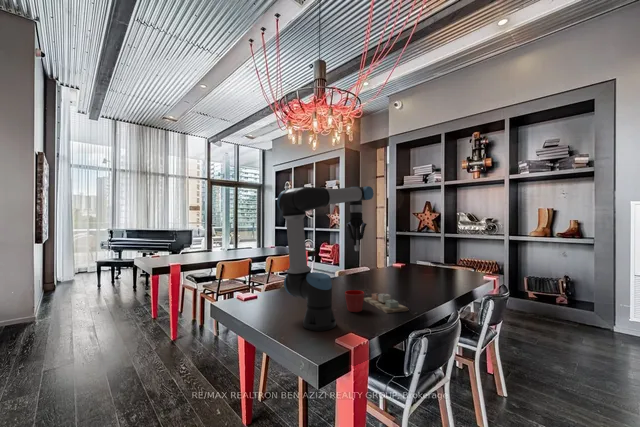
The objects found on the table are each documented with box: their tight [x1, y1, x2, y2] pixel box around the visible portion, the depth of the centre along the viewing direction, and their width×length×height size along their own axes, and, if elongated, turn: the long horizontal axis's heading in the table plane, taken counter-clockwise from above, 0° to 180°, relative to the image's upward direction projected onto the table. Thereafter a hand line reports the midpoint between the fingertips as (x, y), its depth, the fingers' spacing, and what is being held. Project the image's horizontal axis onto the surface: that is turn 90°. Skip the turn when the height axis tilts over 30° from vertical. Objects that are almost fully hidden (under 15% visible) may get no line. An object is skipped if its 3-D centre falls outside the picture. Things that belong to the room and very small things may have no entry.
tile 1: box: [378, 293, 392, 303], centre depth 164 cm, size 5×5×4 cm
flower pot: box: [344, 289, 365, 313], centre depth 155 cm, size 11×11×10 cm
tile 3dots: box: [371, 292, 381, 301], centre depth 171 cm, size 5×5×4 cm
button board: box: [363, 296, 409, 314], centre depth 164 cm, size 27×13×2 cm, turn 17°
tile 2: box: [385, 299, 399, 308], centre depth 156 cm, size 5×5×4 cm
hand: (356, 250), depth 174 cm, fingers closed
